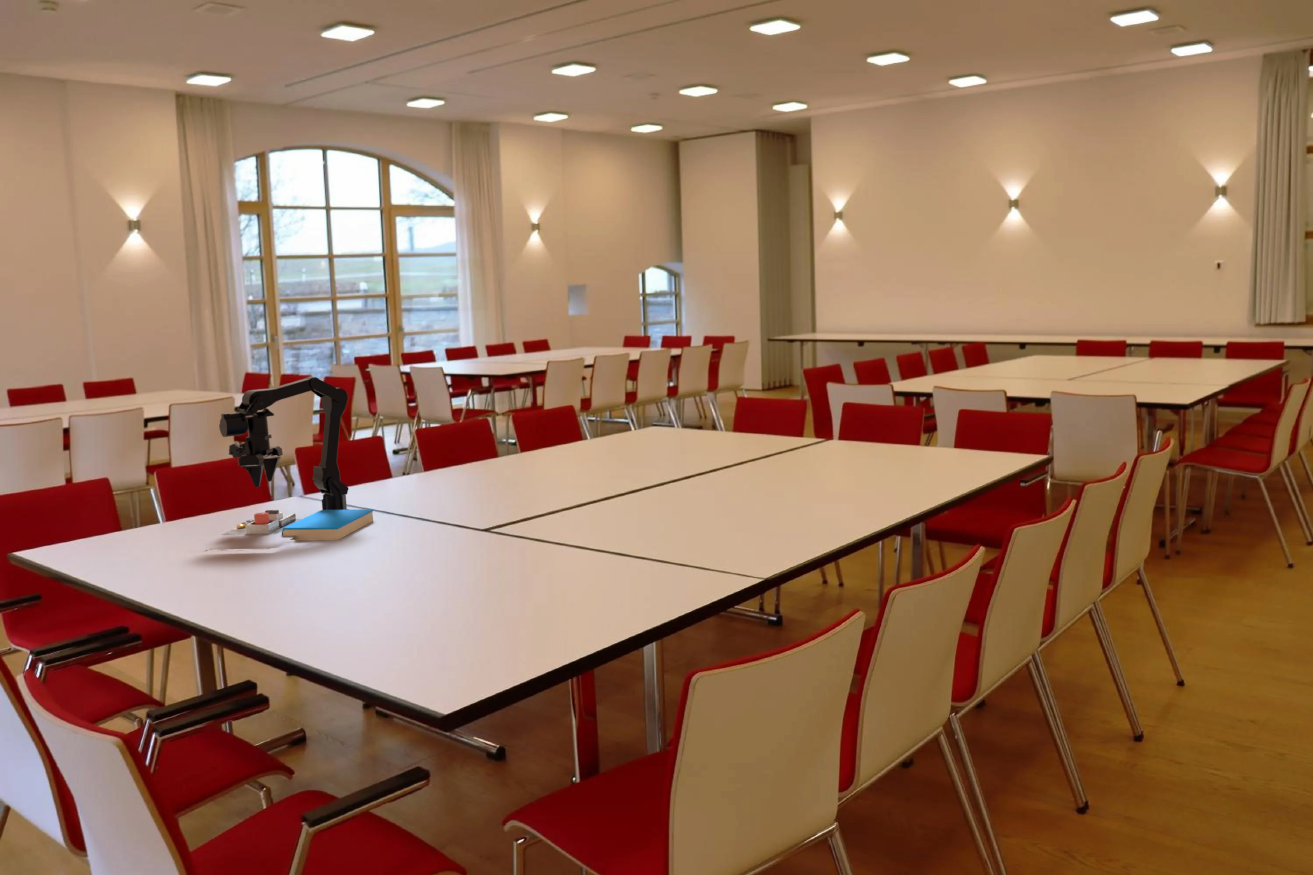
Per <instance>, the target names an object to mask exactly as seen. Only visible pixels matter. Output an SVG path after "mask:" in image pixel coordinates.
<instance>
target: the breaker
mask: <svg viewBox="0 0 1313 875" xmlns="http://www.w3.org/2000/svg"><path fill="white" fill-rule="evenodd" d="M279 511H280V510H279V509H266V510H265V511H264V512H266V513H269V520H280V519H282V518H284V514H283V512H282V511H280V512H279Z"/></svg>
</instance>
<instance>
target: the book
mask: <svg viewBox="0 0 1313 875" xmlns="http://www.w3.org/2000/svg"><path fill="white" fill-rule="evenodd" d="M373 512H374V508H373V509H372V508H371V509H363V508H362V509H349V510H322V509H320V510H318V511H317V512H315V513H313V514H310V515H308V516H306V517H303V518H300V519H301V520H299V521H297V522H295V523H292V524H290V525H288V526H286V527H284V528H283V530H282V531H281V536H282V537H285V536H286V537H289V536H292V538H290V539H289V541H309V540H310V541H311V540H313V541H315V540H316V541H318V540H320V541H323V540H324V541H326V540H328V541H329V540H331V541H333V540H334V541H335V540H340V539H341V538H343V537H345V536H347V535H349V534H351V533H353V532H354V531H356V530H358V529H360V528H362V527H364V526H366V525H368V524H369V523H372V522H374V514H373ZM293 536H294V537H293Z"/></svg>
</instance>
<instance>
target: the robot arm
mask: <svg viewBox="0 0 1313 875" xmlns="http://www.w3.org/2000/svg"><path fill="white" fill-rule="evenodd" d="M309 392H311V393H313V394H314V395H315V396H316V397H318V398H321V406H322V409H323V412H324V416H325V417H324V427H323V436H322V439H323V440H322V447H321V448H322V449H321V456H320V457H321V460H320V462H319V464H318V466H315V465H314V466H313V475H312V477H311V479H312V480H313V484H314V486H315V487H316V488H317V489H319V491H320V493H321V494H322V499H321V508H322V509H321V510H350V509H349V508H348V507H347V495H348V493H349V492H348V491H349V487H348V485H346V484H344V483H343V482H342V481H341V472H340V469H339V465H338V452H339V443H340V442H339V441H340V440H339V439H340V430H341V421H342V420H341V418H342V416H343V414H344V413H345V411H346V408H347V405H348V401H349V393H348V392H347V391H346V390H345V389H344V388H341V387H335V386H333V385H332V384H329V383H327V382H325V381H323V380H322V379H320V378H318V377H316V376H307V377H305V378H302V379H299V380H295V381H293V382H290V383H289V382H288V383H285V384H282V385H279V386H274V387H272V388H258V389H251V390H247V391H245V392H243V395H242V398H241V402H240V404H239V405H238V407H237V409H236V411H235V412H232V413H221V414H220V417H221V418H220V420H219V431H220V435H221V437H223V438H227V437H235V436H236V437H237V436H242V435H245V434H246V432H247V435H248V436H246V437H245V440H244V441H245V442H243V443H241V444H238V443H236V442H235V443H232V444H230V445H229V446H228V447H229V448H228V455H230V456H232V457H233V458H232V459H233V460H235V459H237V463H238V464H237V466H239V467H241V468H242V469H244V470H246V472H248V474H249V476H250V478H251V480H252V484H254V488H260V486H261V482H262V476H263V471H264V472H265V475H266V479H267V482H272V481H273V478H274V476H275V474H276V471H277V467H278V464H279V462H280V460H281V459H282V456H283V455H284V454H283V448H282V447H280V446H279V445H278V446H277V445H275V446H271V444H270V439H272V434H269V424H268V417H274V416H275V413H273V412H272V411H270V409H269V408H268V407H271V406H272V405H274V404H275V403H277V402H279V401H281V400H284V399H285V400H286V399H288V398H292V397H295V396H298V395H301V394H305V393H309Z"/></svg>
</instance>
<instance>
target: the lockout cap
mask: <svg viewBox="0 0 1313 875" xmlns="http://www.w3.org/2000/svg"><path fill="white" fill-rule="evenodd" d="M253 520H255V525H260V524H269V523H270V522H269V513H266V512H265V511H264V512H257V513H254V514H253Z"/></svg>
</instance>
